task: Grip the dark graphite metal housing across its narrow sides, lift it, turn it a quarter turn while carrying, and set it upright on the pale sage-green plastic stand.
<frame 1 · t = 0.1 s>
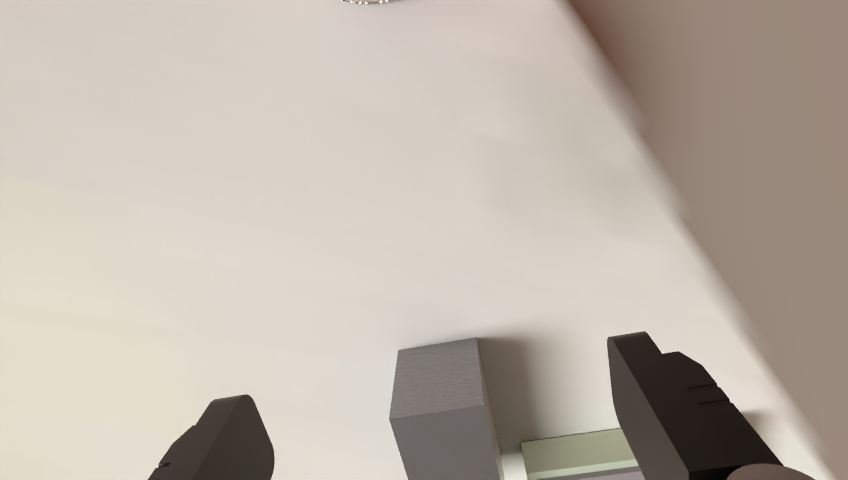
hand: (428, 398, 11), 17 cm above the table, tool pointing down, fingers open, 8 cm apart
housing: (452, 405, 33), on the table
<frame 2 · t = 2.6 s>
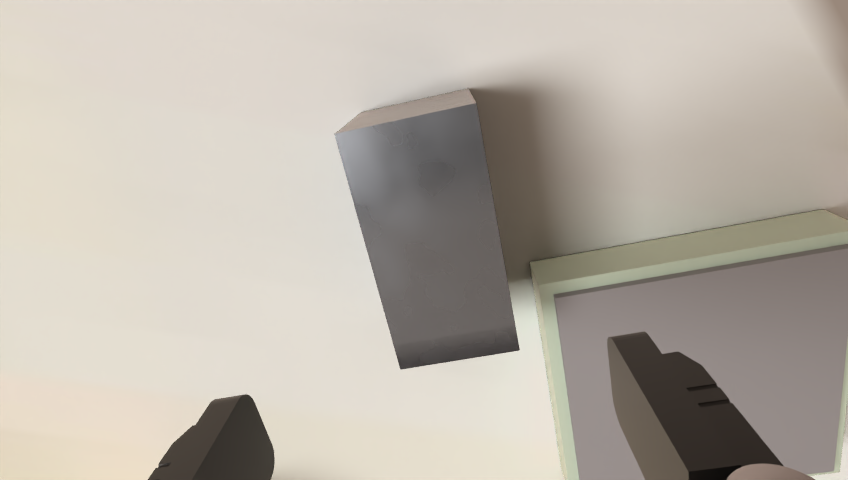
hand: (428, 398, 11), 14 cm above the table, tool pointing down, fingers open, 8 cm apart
housing: (436, 203, 24), on the table
stand: (676, 354, 27), on the table
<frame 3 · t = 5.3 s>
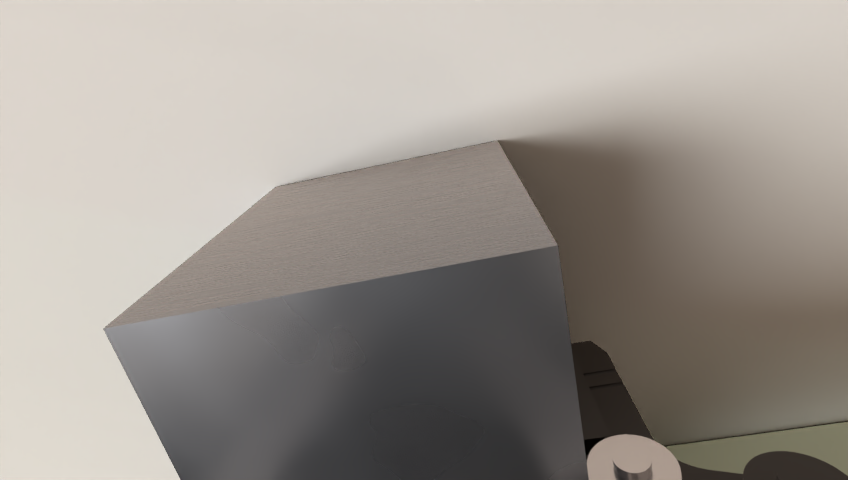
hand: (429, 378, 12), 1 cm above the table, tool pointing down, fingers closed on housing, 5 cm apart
housing: (431, 355, 13), on the table, touching gripper
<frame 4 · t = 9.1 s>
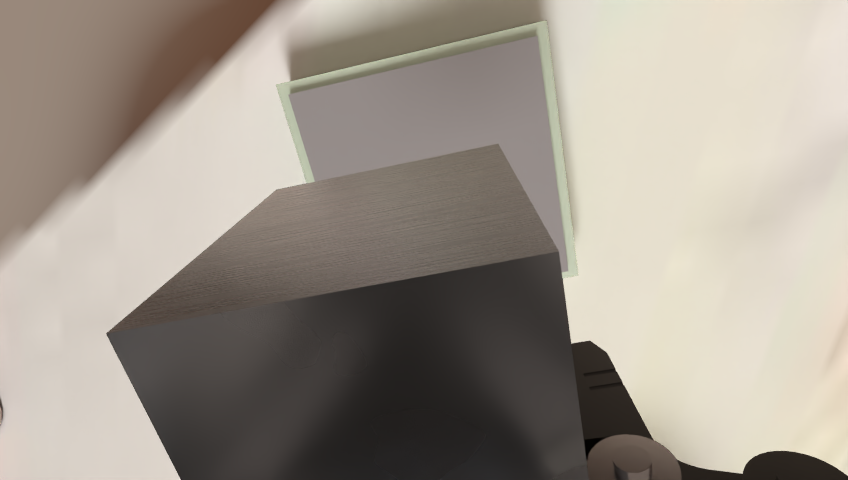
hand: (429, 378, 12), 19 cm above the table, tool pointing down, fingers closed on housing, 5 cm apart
housing: (432, 357, 13), point 19 cm above the table, touching gripper
stand: (436, 174, 30), on the table
when the fingers open (5 cm above the table, at t = 12.6 s): housing drops 1 cm, resting on stand.
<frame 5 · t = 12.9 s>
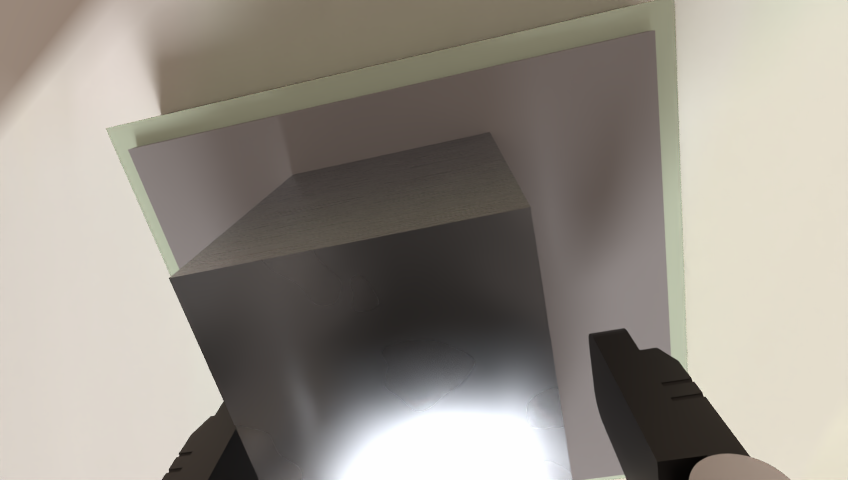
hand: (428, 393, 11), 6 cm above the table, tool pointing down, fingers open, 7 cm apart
housing: (432, 327, 14), point 3 cm above the table, touching stand
stand: (433, 279, 17), on the table
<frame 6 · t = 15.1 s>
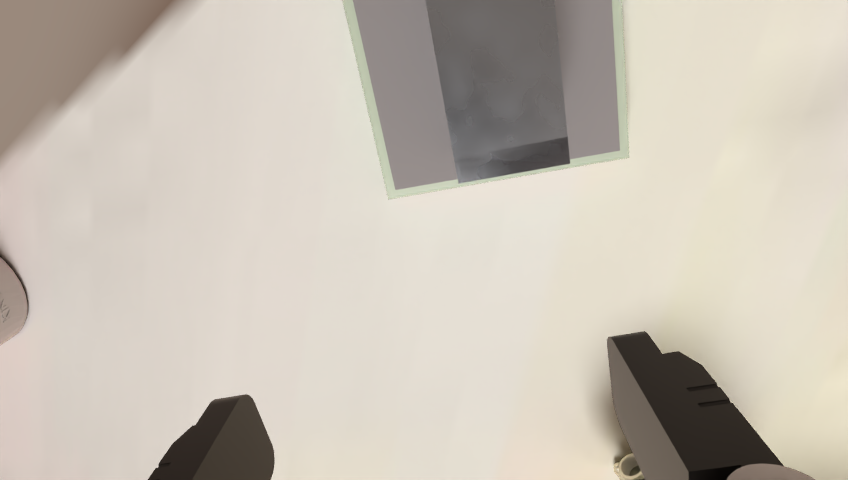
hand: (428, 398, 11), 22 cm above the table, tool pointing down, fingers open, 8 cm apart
pneumatic valve: (645, 464, 40), on the table
housing: (488, 54, 26), point 3 cm above the table, touching stand
stand: (484, 52, 29), on the table
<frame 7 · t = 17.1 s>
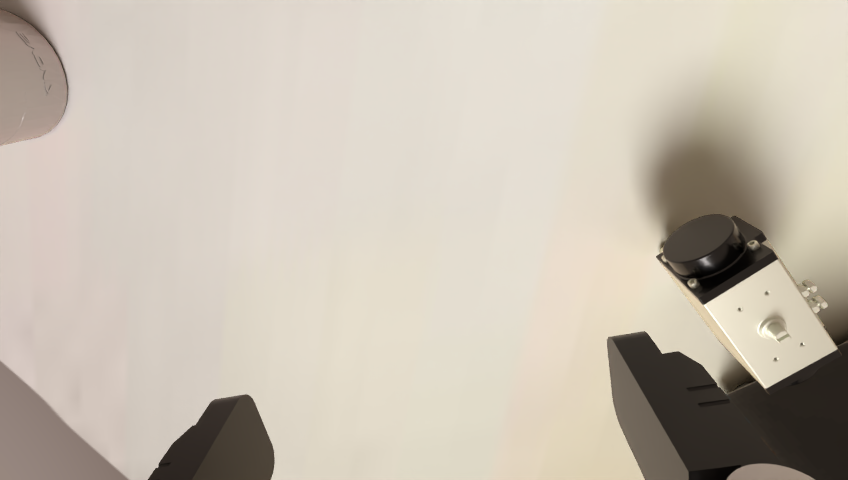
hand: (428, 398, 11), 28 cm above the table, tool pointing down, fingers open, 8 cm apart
pneumatic valve: (691, 251, 40), on the table
voltmeter: (834, 408, 44), on the table
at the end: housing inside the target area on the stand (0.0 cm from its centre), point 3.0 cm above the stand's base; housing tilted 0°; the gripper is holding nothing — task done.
